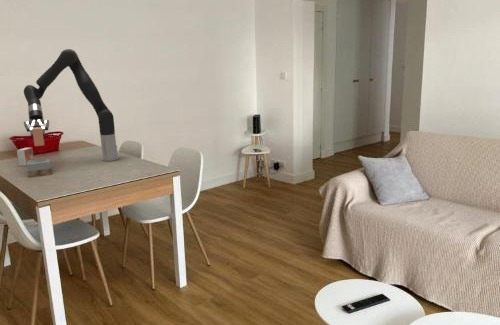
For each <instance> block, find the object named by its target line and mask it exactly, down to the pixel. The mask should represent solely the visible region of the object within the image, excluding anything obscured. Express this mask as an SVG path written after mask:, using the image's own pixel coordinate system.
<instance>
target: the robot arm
mask: <svg viewBox="0 0 500 325" xmlns="http://www.w3.org/2000/svg"><path fill="white" fill-rule="evenodd" d="M67 68H69V70H71V72H72V74H73V77H74V79H75V81H76V84H77V86H78V89H79V90H80V91H81V93H82V95H83V96H84V97H85V99H86V100H87V101H88V103H90V105H91V106H92V108H93V109H94V111H95V113H96V116H97V118H98V126H99V136H100V144H101V153H102V161H104V162H111V161H112V162H113V161H116V160H119V153H118V146H117V141H116V140H117V138H116V132H115V131H116V129H115V119H114V118H115V117H114V114H113V113H112V111H111V110H110V109H109V107H107V105H106V104H105V103H104V100H103V99H102V96H101V94H100V92H99V90H98V88H97V85H96V84H95V83H94V81H93V79H92V78H91V77H90V75H89V74H88V72H87V71H86V69H85V68H84V66H83V64H82V61H81V60H80V58H79V55H78V54H77V52H76V51H75V50H73V49H71V48H67V49H66V48H65V49H64V50H62V51H61V52H60V54H59V56H57V59H56V60H55V61H54V63H53V64H52V65H51V66H50V67H49V68H48V69H47V70H46V71H45V72H43V74H41V75H40V76H39V78H37V80H36V82H35V83H36V85H37V86H38V88H37V87H35V86H34V85H32V84H28V85H26V86H25V87H24V89H23V94H24V98H25V100H26V102H27V105H28V106H27V107H28V108H27V109H28V112H27V113H28V121H23V126H24V128H25V130H26V132H27V133H28V132H29V134H30V136H31V137H32V138H33V131H32V128H40V127H42V132H43V137H45V136H46V131H48V130H49V127H50V120H49V119H47V120H44V116H43V108H42V102H41V99H42V98H43V96H44V94H45V91H47V88H49V86H51V84H52V83H53V82H54V81H55V80H56V79H57V77H58V76H59V75H60V74H61V73H62V72H63V71H64V70H65V69H67ZM44 124H45V126H44ZM29 125H30V128H29Z"/></svg>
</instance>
